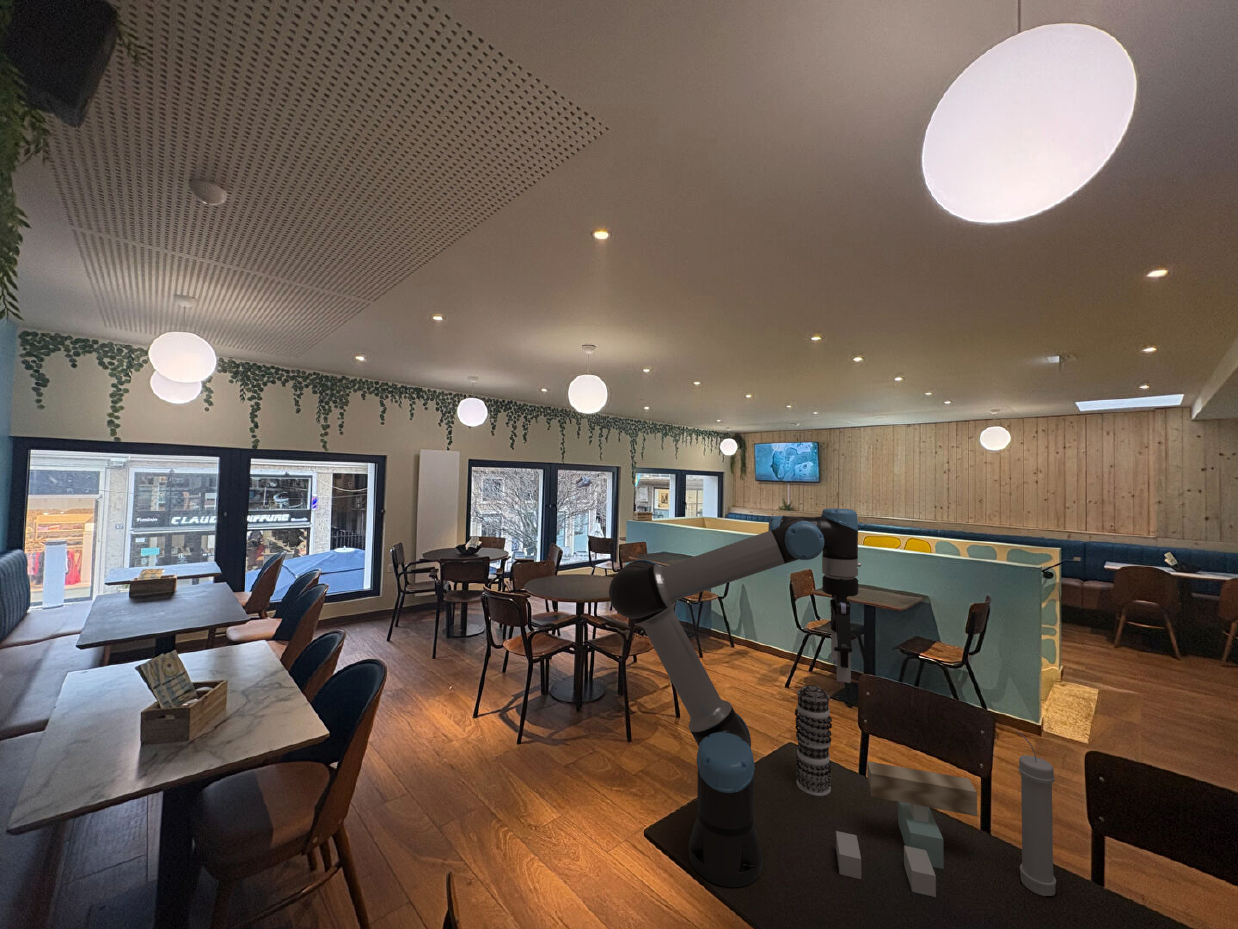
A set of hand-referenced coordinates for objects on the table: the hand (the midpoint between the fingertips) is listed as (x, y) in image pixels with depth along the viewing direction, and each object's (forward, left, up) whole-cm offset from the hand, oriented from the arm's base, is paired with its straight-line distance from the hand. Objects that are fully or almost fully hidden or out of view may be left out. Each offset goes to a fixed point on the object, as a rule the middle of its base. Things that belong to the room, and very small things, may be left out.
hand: (840, 670), depth 113 cm
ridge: (+16, +2, -37) cm, 40 cm away
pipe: (+35, -3, -37) cm, 51 cm away
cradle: (+7, -9, -37) cm, 38 cm away
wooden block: (+16, +2, -27) cm, 31 cm away
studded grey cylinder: (-5, +17, -37) cm, 41 cm away
